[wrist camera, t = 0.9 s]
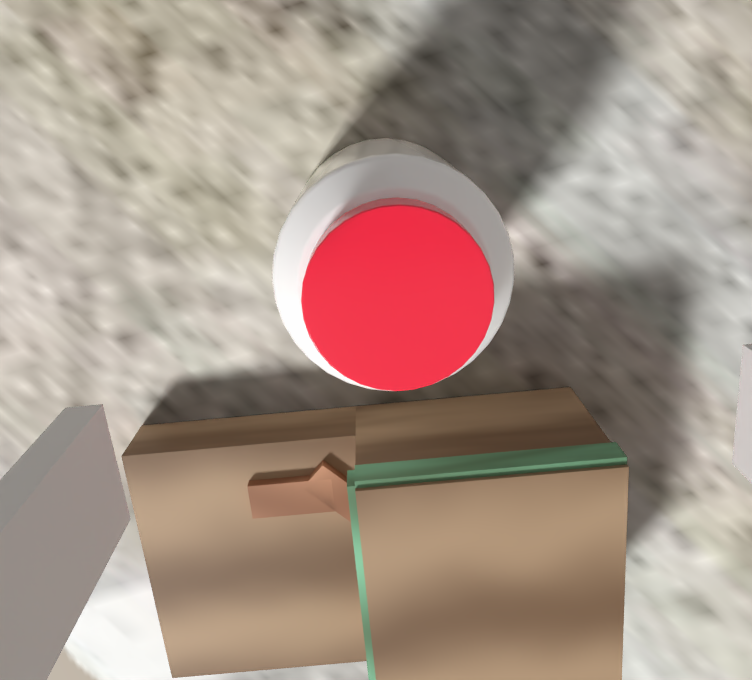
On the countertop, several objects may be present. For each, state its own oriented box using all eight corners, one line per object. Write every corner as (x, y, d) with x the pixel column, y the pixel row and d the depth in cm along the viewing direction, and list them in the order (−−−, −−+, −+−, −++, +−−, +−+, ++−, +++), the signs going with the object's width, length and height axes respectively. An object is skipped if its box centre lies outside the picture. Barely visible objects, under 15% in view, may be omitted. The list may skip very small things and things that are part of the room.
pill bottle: (315, 331, 32) (294, 446, 21) (275, 157, 29) (230, 191, 19) (485, 300, 31) (548, 401, 21) (460, 121, 29) (518, 135, 19)
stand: (140, 419, 33) (80, 508, 26) (570, 381, 33) (628, 459, 26) (187, 634, 37) (146, 762, 30) (569, 601, 37) (620, 721, 30)
